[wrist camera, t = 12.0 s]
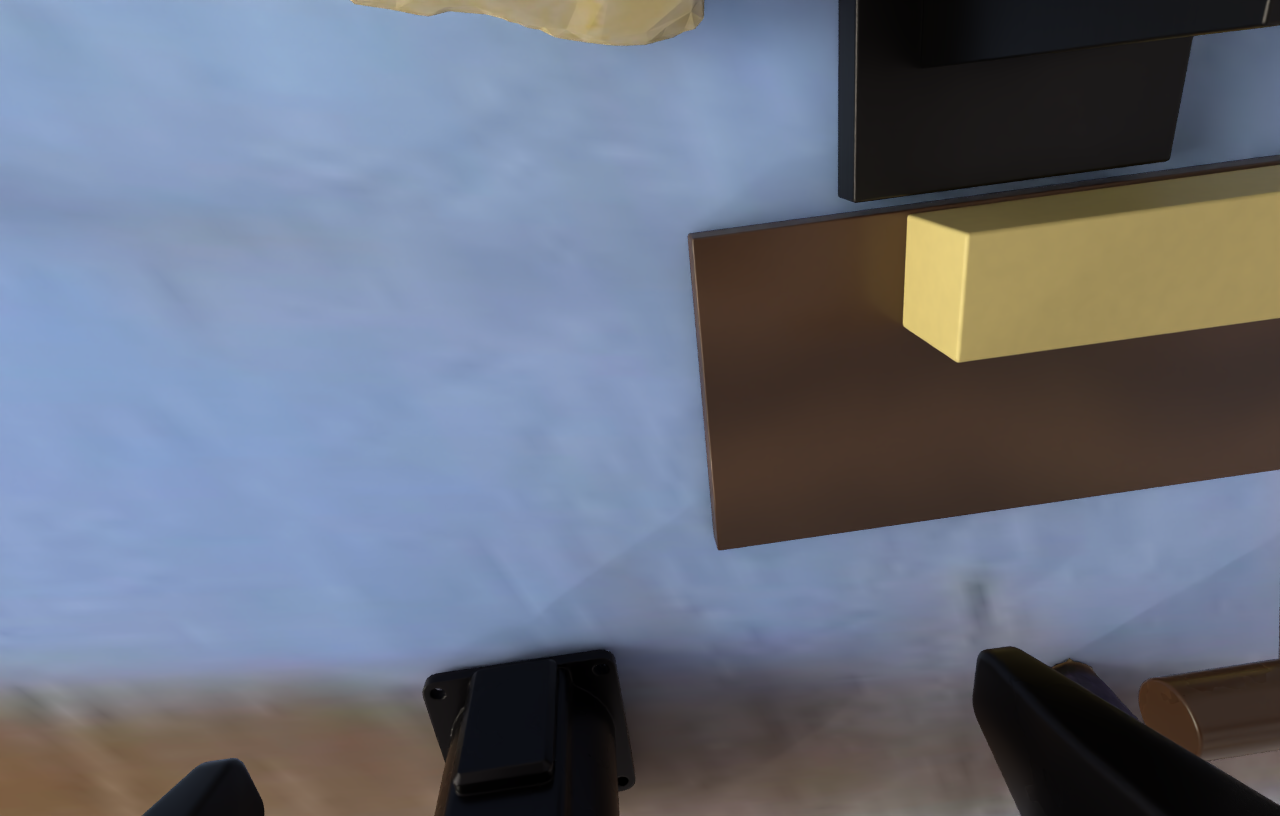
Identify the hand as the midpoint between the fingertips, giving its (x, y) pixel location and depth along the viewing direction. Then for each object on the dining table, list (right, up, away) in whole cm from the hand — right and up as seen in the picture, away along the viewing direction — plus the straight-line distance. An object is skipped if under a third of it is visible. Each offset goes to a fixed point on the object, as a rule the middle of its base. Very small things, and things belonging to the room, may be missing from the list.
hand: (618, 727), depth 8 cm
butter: (+12, +8, +10) cm, 18 cm away
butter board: (+11, +5, +12) cm, 17 cm away
